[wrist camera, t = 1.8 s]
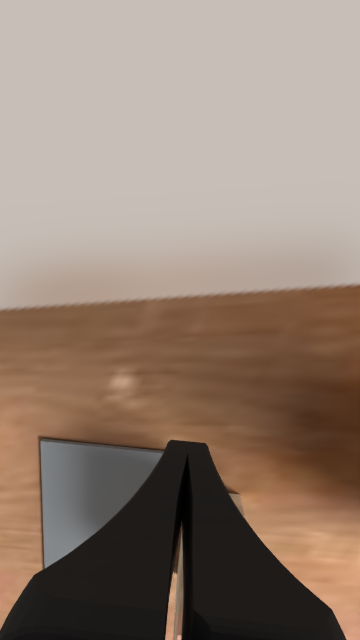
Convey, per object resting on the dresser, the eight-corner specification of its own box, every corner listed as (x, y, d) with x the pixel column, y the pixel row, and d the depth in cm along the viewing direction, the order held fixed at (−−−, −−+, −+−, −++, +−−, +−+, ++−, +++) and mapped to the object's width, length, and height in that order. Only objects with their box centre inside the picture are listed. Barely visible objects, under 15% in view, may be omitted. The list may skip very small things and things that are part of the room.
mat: (181, 452, 24) (181, 455, 23) (168, 602, 27) (168, 606, 27) (42, 438, 24) (40, 440, 24) (46, 588, 27) (45, 592, 27)
